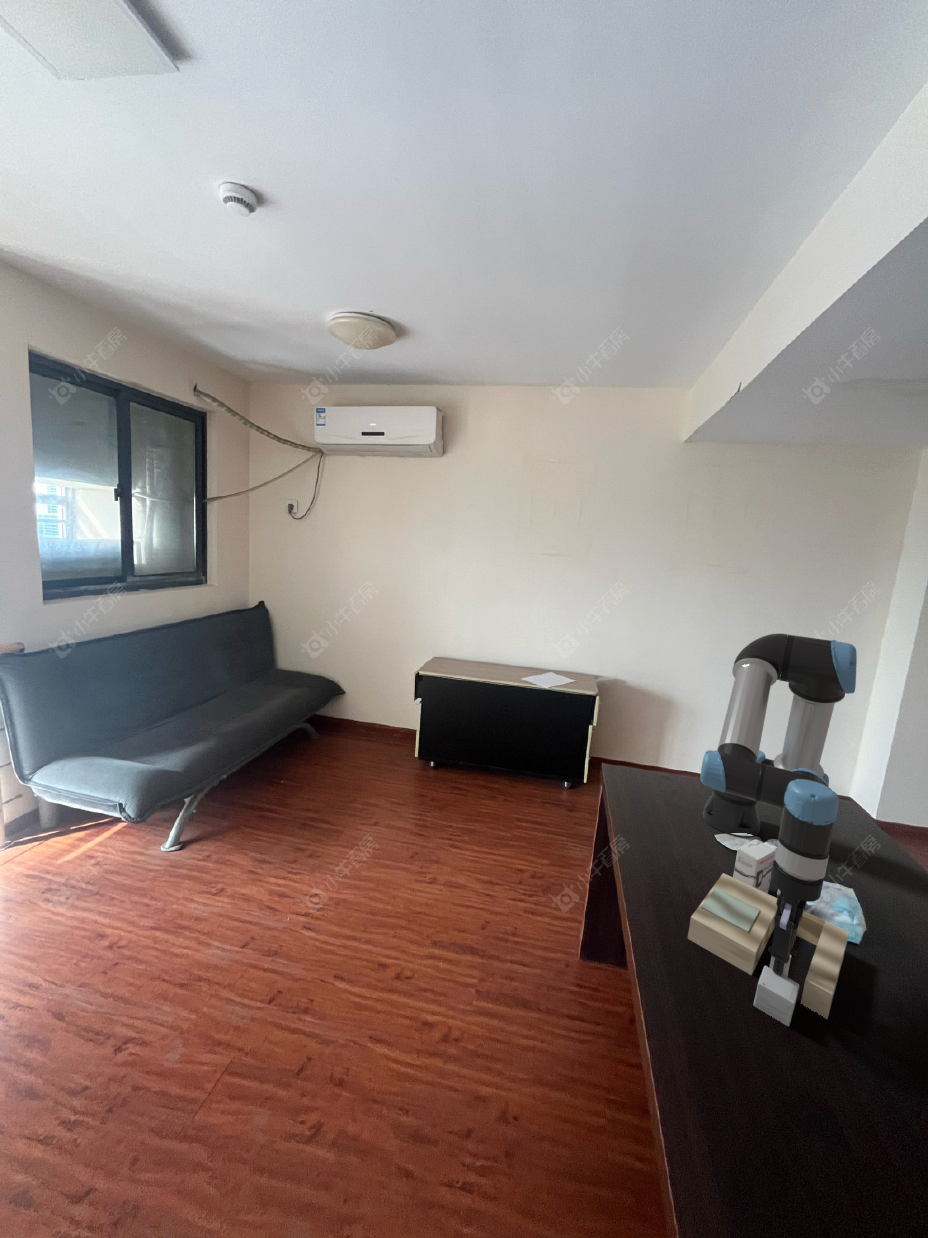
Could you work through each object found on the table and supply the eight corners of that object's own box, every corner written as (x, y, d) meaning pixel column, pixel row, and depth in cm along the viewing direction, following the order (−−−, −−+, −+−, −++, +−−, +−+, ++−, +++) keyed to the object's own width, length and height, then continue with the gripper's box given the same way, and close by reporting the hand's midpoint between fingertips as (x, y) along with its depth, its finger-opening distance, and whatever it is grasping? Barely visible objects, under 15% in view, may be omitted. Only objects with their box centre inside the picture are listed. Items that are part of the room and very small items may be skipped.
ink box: (750, 906, 115) (758, 859, 113) (729, 893, 119) (736, 847, 117) (768, 894, 119) (777, 849, 118) (747, 881, 123) (755, 838, 122)
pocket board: (720, 892, 119) (723, 871, 118) (844, 953, 103) (849, 930, 102) (687, 938, 104) (691, 915, 103) (827, 1019, 88) (832, 993, 87)
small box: (789, 1028, 85) (794, 1004, 85) (752, 1006, 89) (756, 982, 88) (795, 1007, 90) (800, 983, 89) (759, 986, 93) (763, 963, 93)
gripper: (782, 844, 96) (762, 952, 99) (764, 873, 86) (743, 992, 90) (829, 863, 91) (807, 976, 94) (816, 897, 81) (791, 1021, 85)
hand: (776, 984), depth 92 cm, fingers closed
